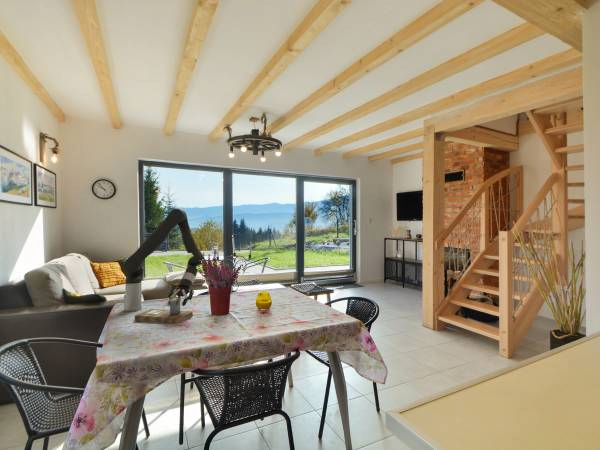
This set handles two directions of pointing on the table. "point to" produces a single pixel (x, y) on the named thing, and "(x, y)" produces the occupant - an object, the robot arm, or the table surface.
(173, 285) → the condiment
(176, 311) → the grey upright cylinder
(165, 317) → the rack foot plate
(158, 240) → the robot arm
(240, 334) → the table surface
